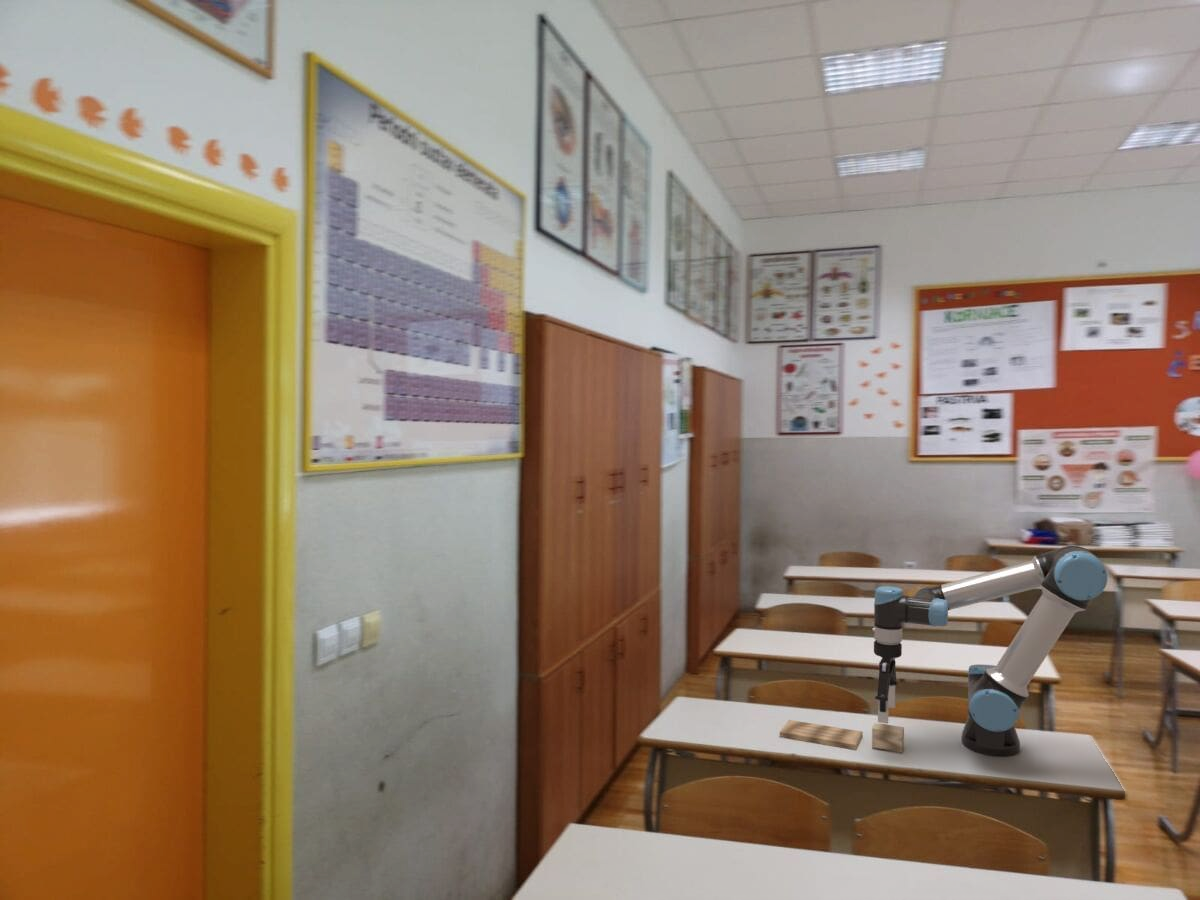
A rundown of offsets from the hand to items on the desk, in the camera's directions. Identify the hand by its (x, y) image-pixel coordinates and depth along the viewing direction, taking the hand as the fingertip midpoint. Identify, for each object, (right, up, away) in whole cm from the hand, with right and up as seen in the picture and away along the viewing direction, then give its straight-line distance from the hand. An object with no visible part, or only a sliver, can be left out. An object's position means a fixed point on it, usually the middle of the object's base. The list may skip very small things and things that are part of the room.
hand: (886, 714), depth 228 cm
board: (-16, -10, +9) cm, 21 cm away
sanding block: (+1, -10, 0) cm, 10 cm away
